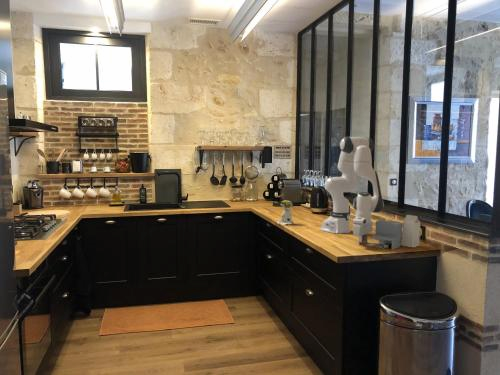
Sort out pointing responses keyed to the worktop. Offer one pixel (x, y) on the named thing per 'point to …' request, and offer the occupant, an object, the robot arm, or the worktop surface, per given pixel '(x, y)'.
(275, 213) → the worktop surface
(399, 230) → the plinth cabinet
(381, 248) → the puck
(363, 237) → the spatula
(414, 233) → the milk carton
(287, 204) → the potted plant
